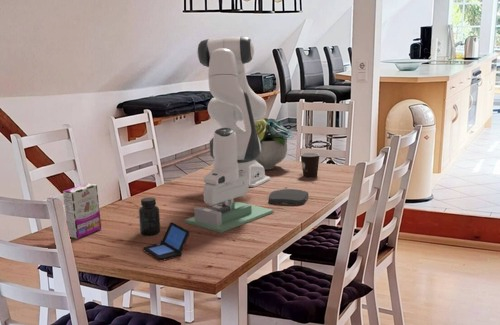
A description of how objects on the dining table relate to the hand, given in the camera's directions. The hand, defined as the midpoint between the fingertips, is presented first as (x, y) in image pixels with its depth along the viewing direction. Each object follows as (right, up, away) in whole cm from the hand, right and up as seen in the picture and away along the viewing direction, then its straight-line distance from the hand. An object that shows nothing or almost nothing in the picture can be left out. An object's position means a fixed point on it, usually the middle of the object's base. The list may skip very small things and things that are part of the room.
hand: (227, 211), depth 216 cm
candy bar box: (-49, -7, -11) cm, 50 cm away
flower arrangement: (+16, +15, +77) cm, 80 cm away
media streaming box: (+24, +2, +23) cm, 33 cm away
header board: (+1, -2, +2) cm, 3 cm away
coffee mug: (+36, +12, +61) cm, 72 cm away
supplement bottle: (-26, -7, -13) cm, 30 cm away
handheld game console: (-18, -11, -30) cm, 36 cm away
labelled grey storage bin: (-3, -3, -3) cm, 5 cm away
